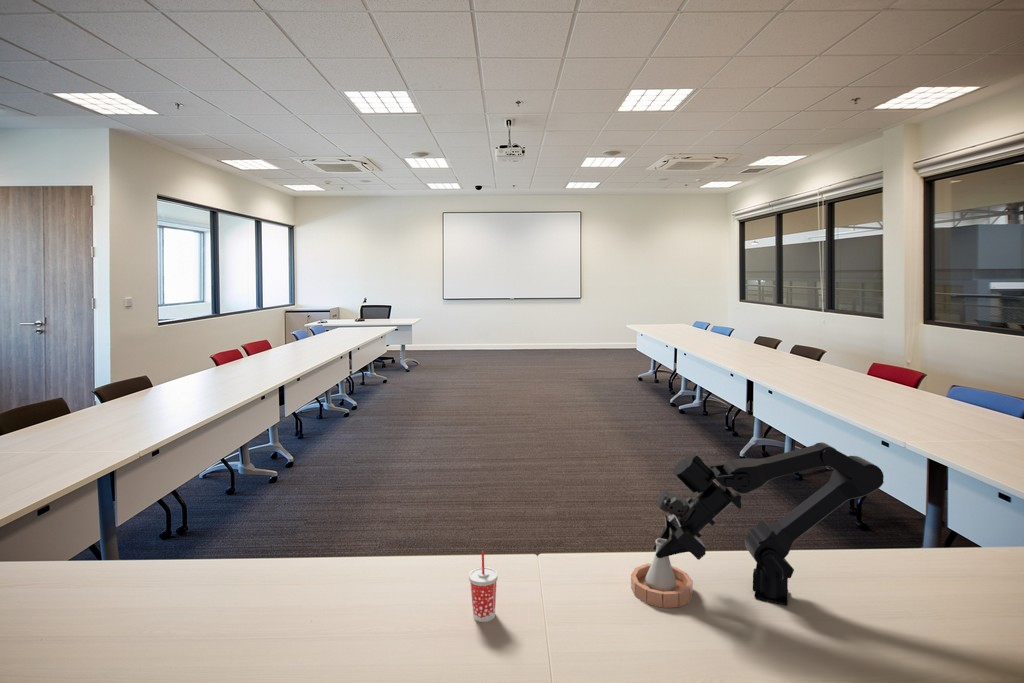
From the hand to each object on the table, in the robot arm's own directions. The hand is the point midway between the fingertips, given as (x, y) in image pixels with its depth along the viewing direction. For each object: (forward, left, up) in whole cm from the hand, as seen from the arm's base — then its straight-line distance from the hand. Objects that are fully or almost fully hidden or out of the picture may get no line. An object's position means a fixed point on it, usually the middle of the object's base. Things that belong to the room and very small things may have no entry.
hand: (655, 553), depth 119 cm
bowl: (-1, 0, -9) cm, 9 cm away
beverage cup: (+30, +26, -9) cm, 40 cm away
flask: (-1, 0, -7) cm, 8 cm away
